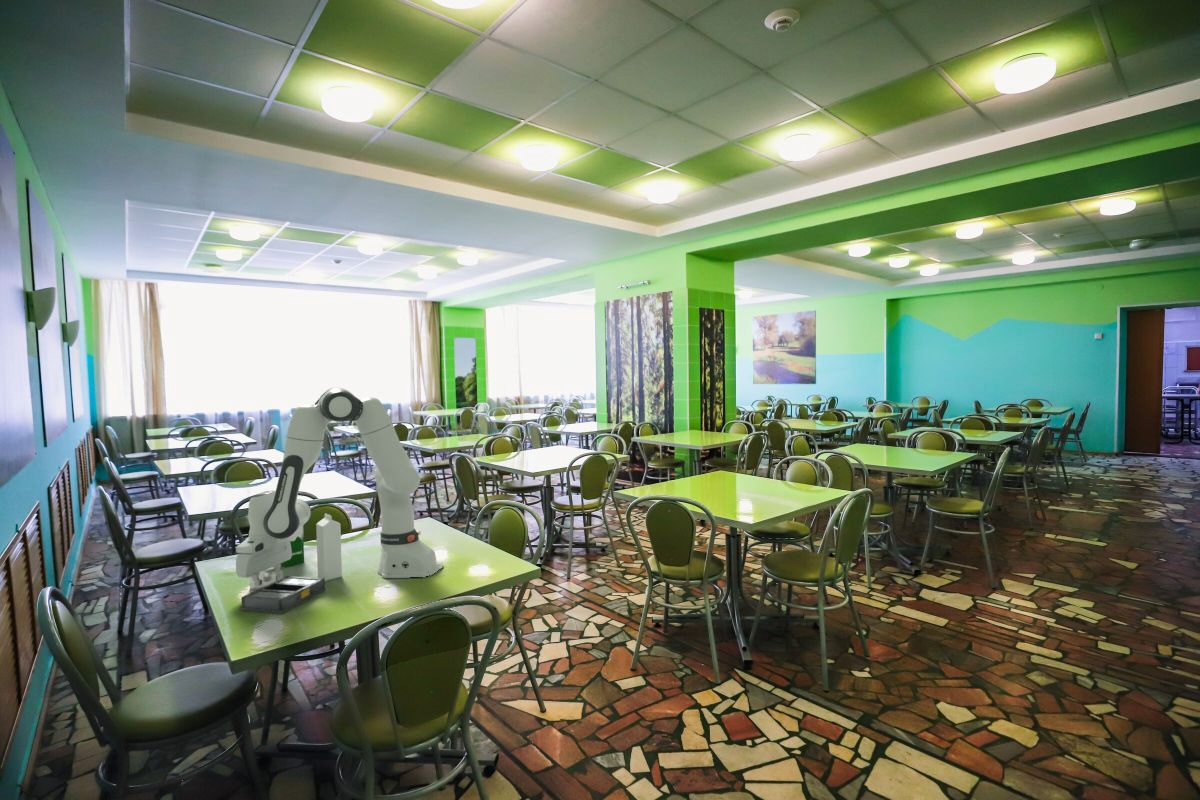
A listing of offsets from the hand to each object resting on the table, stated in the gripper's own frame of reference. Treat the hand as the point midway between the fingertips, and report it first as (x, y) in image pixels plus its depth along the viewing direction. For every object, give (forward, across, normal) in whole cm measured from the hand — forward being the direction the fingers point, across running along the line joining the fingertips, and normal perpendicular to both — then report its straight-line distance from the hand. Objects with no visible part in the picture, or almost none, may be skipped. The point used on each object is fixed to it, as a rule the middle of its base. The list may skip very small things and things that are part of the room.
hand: (266, 581), depth 187 cm
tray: (+2, +8, +14) cm, 16 cm away
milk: (+2, -13, +14) cm, 19 cm away
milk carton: (+2, -24, -11) cm, 27 cm away
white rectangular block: (+2, 0, 0) cm, 2 cm away
